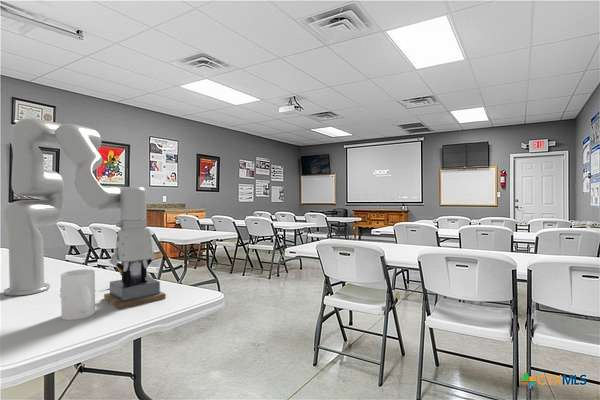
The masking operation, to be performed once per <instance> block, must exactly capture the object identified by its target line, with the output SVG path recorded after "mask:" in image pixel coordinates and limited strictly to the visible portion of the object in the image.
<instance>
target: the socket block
mask: <svg viewBox="0 0 600 400" xmlns="http://www.w3.org/2000/svg"><path fill="white" fill-rule="evenodd" d="M160 283H161V282H160V281H159V280H157V279H154V278H152V277H150V276H146V277H145V281H142V283H139V284H133V285H127V284H126V283H124V282H123V281H122V279H118V280H112V281H111V280H110V281H109V293H110V294H111V295H112V296H114V297H115V298H117V299H118V300H120V301H122V302H124V301H129V300H134V299H138V298H143V297H148V296H152V295H157V294H160V291H161V290H160V289H161V284H160Z"/></svg>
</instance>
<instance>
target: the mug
mask: <svg viewBox="0 0 600 400" xmlns="http://www.w3.org/2000/svg"><path fill="white" fill-rule="evenodd" d="M95 274H96V273H95V269H87V268H86V269H85V268H84V269H74V270H69V271H64V272H62V273H61V274H60V289H59V298H60V300H61V301H60V303H61V304H60V305H61V307H60V308H61V309H60V310H61V318H62V320H64V321H65V320H66V321H75V320H81V319H85V318H89V317H92V316H93V315H94V314H95V313H96V281H95V280H96V278H95V277H96V275H95Z"/></svg>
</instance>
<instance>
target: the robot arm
mask: <svg viewBox="0 0 600 400" xmlns="http://www.w3.org/2000/svg"><path fill="white" fill-rule="evenodd" d="M10 143H11V144H10V145H11V148H12V149H11V150H12V166H11V167H12V169H11V190H12V192H13V193H14V194H15V195H18V196H20V197H39V199H27V200H26V199H25V200H15V201H13V202H10V203H9V204H8V205H6V206H5V208H4V210H3V211H4V212H3V219H4V221H5V222H4V223H5V226H6V230H7V239H8V273H9V278H8V279H9V287H8V288H5V289H4V290H3V295H5V296H9V297H10V296H11V297H13V296H14V297H16V296H17V297H18V296H26V295H32V294H36V293H37V294H38V293H41V292H44V291H46V290H49V289H50V287H51V286H50V285H51V284H50V283H48V282H45V260H44V259H45V252H44V238H43V235H42V233H41V232H40V230H39V228H38V227H45V226H52V225H56V224H57V223H59V222H60V221H61V219H62V217H63V213H64V200H65V199H64V198H65V182H64V179H63V177H62V175H61V174H59V172H57V171H54V170H47V169H46V170H45V169H44V168H45V167H44V166H45V165H44V164H45V159H44V158H45V157H44V155H43V152H42V149H40V148H39V145H40V146H46V147H54V148H59V149H62V151H63V153H64V154H65V156H66V157H67V158H68V160H69V161H70V162H71V164H72V166H73V167H74V169H75V171H74V175H73V176H74V178H73V179H74V186H75V189H76V191H77V193H78V194H79V195H80V197H81V199H82V201H84V202H85V204H86V205H87V206H88V207H89V208H91V209H93V210H97V211H105V210H120V220H119V221H118V222H115V227H116V228H119V230H118V232H117V237H116V244H115V253H114V254H113V255H112V257H111V259H110V260H109V263H110V264H111V265H113V266H115V267H116V268H119V269H120V270H122V276H121V280H122V281H123V282H124V283H126V284H128V283H129V271H128V269H127V268H128V264H129V262H133V261H140V260H142V281H145V277H146V276H147V269H148V268H149V266H150V264H152V262H153V261H154V260H156V258H158V256H157V254H156V253H155V252H154V251H153V241H152V233H151V230H150V228H147V226H148V225H147V223H148V222H147V221H148V220H147V189H146V188H145V187H143V186H118V185H101V184H100V182H99V181H98V179H96V176H95V175H94V173H93V172H94V171H96V170H97V169H98V168H100V167H101V165H102V163H103V157H102V155H101V154H100V152H99V151H98V150H99V149H100V147H101V146H102V138H101V135H100V134H99V132H98V131H97V130H95V129H94V128H93V127H91V128H90V127H88V126H83V125H79V124H73V123H64V124H63V123H59V122H55V121H49V120H45V119H40V118H31V117H29V118H22V119H20V120H18V121H16V123H15V124H14V125H13V126H12V128H11V131H10ZM118 261H120V262H118Z"/></svg>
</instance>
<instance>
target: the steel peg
mask: <svg viewBox="0 0 600 400" xmlns="http://www.w3.org/2000/svg"><path fill="white" fill-rule="evenodd" d="M127 269H128V271H129V283H128V284H127V285H133V284H139V283H142V260H140V261H133V262H129V264H128V268H127Z"/></svg>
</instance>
